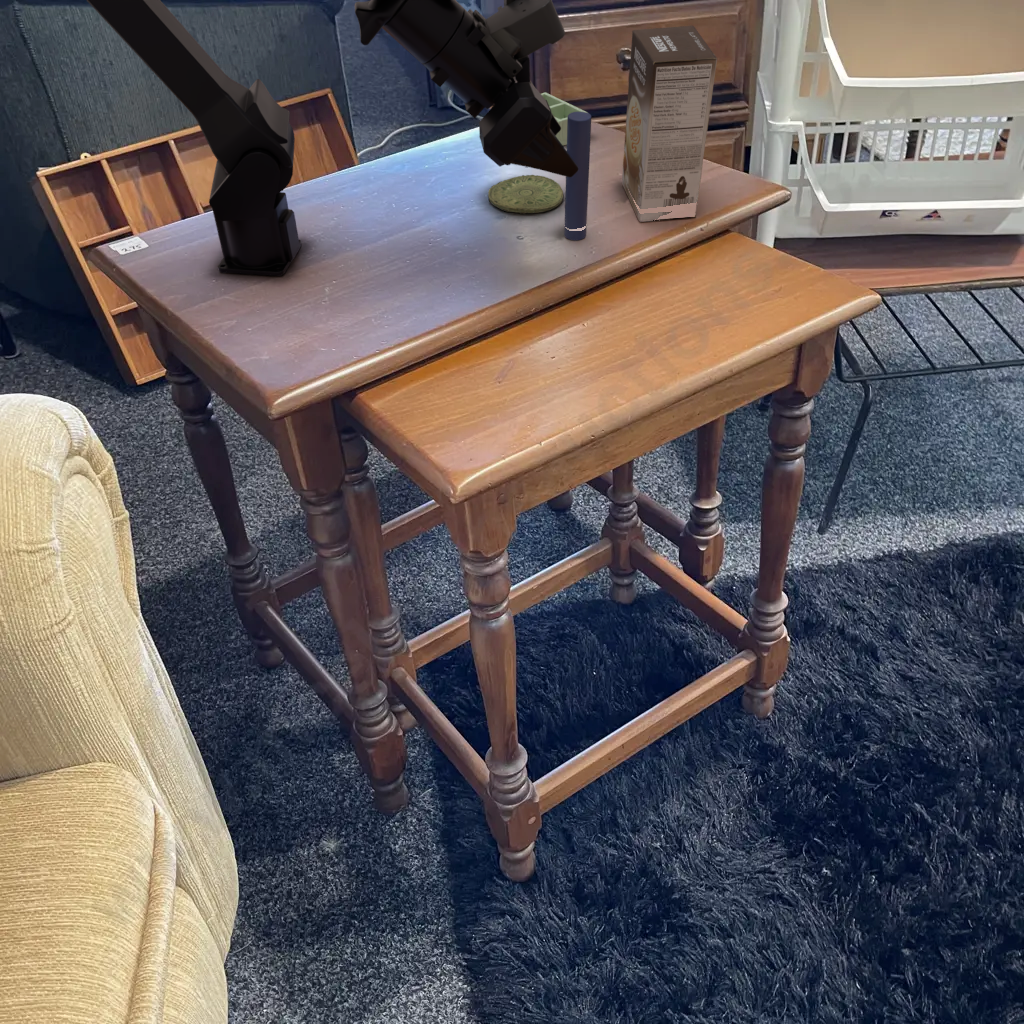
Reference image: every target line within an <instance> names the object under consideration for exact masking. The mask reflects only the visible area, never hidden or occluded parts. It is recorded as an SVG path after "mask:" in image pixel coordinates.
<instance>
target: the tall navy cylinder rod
mask: <svg viewBox="0 0 1024 1024" xmlns="http://www.w3.org/2000/svg"><path fill="white" fill-rule="evenodd" d="M586 112H587V111H585V112H573V113H570V114H569V115H568V121H567V145H566V151H567V152H568V154H569V155H570V156H571V158H572V159H573V161H574V162H575V163H576V165H577V166H578V171H577V172H576V173H575V174H574V175H573V176H572V177H566V176H565V189H564V191H565V193H564V225H565V226H564V225H563V226H564V227H563V229H564V231H563V236H564V237H565V238H566V239H567V240H570V241H581V240H584V239H585V238H586V236H587V226H586V224H587V223H588V222H587V221H588V202H589V201H588V200H589V177H590V160H591V159H590V157H591V138H592V137H591V136H592V135H591V134H592V133H591V132H592V115H591V113H589V112H588V113H586ZM587 225H588V224H587ZM584 226H586V228H585V229H584V230H582V231H569V230H567V229H566V228H565V227H567V228H569V229H577V228H582V227H584Z"/></svg>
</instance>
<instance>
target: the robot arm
mask: <svg viewBox="0 0 1024 1024" xmlns="http://www.w3.org/2000/svg"><path fill="white" fill-rule="evenodd" d="M86 2H87V3H88V4H89V5H90V7H92V8H93V9H94V10H95V11H96V13H97V14H99V16H100V17H101V18H102V19H103V20H104V21H105V22H106V23H107V24H108V25H109V26H110V27H111V28H112V30H113V31H114V32H115V33H116V34H117V35H118V36H119V37H120V38H121V39H122V40H123V41H124V42H125V44H126V45H127V46H128V47H129V48H130V49H131V50H132V51H133V52H134V53H135V54H136V55H137V57H139V58H140V60H141V61H142V62H143V63H144V64H145V65H146V66H147V67H148V68H149V69H150V70H151V71H152V72H153V73H154V75H155V76H156V77H157V78H158V79H159V80H160V81H161V83H163V84H164V86H166V88H167V89H168V90H170V92H171V93H172V94H173V95H174V96H175V97H176V98H177V99H178V101H179V102H180V103H181V104H183V106H184V107H185V108H186V109H187V110H188V111H189V112H190V113H191V114H192V116H193V117H194V119H195V121H196V122H197V124H198V126H199V128H200V130H201V132H202V134H203V136H204V138H205V140H206V142H207V144H208V146H209V149H210V150H211V153H212V154H213V155H214V157H215V158H216V163H215V168H214V173H213V179H212V183H211V184H212V185H211V189H210V195H209V198H208V199H209V200H208V204H209V206H210V207H211V210H212V213H213V218H214V223H215V226H216V231H217V235H218V240H219V244H220V248H221V252H222V256H223V258H222V259H221V261H220V262H219V263H218V265H217V269H218V272H220V273H227V274H241V275H242V274H243V275H244V274H245V275H254V276H255V275H257V276H258V275H259V276H271V277H280V276H284V274H285V273H286V272H287V270H288V268H289V266H290V265H291V263H292V262H293V261H294V259H295V258H296V256H297V254H298V253H299V251H300V249H301V246H302V240H301V239H300V238H299V232H298V227H297V226H298V225H297V220H296V215H295V211H294V210H293V209H292V208H289V205H288V200H287V193H286V192H284V190H285V189H286V188H287V187H288V185H289V184H290V183H291V180H292V178H293V174H294V173H293V172H294V160H295V159H294V157H295V141H296V138H295V132H294V129H293V126H292V124H291V123H290V115H291V114H290V113H291V112H290V111H289V110H288V109H286V108H285V107H283V106H281V105H280V104H279V103H278V102H277V101H276V100H275V99H274V97H273V96H272V94H271V92H269V90H268V89H267V87H266V85H265V83H263V81H262V80H261V79H260V78H257V79H255V81H254V82H253V83H252V84H251V86H250V87H249V88H248V87H246V86H244V85H242V84H241V83H239V82H237V81H235V80H234V79H232V78H231V77H229V75H227V74H226V73H225V71H223V69H221V67H220V66H219V65H218V64H217V63H216V62H215V61H214V60H213V58H212V57H211V56H210V55H209V54H208V52H207V51H206V50H205V49H204V48H203V47H202V45H201V44H199V43H198V41H197V40H196V39H195V38H194V37H193V35H192V34H191V33H190V32H189V31H188V30H187V29H186V27H185V26H184V25H183V24H182V23H181V22H180V21H179V19H178V18H177V17H176V16H175V15H174V14H173V12H172V11H171V10H170V9H169V8H168V7H167V6H166V4H165V3H164V2H162V0H86ZM354 14H355V16H356V18H357V21H358V25H359V36H360V37H359V39H360V43H361V45H363V46H369V44H370V43H371V42H372V41H373V39H374V38H375V37H376V36H377V34H378V33H379V32H380V31H381V30H382V29H383V30H384V31H385V32H386V33H387V34H388V35H389V36H390V37H391V38H393V39H394V40H395V41H396V42H397V43H398V45H400V46H402V48H404V49H405V50H406V51H407V52H408V53H409V54H410V55H411V56H413V57H414V58H415V59H416V60H417V61H418V62H419V63H420V64H421V65H422V66H423V67H425V68H426V69H427V70H428V71H429V76H430V79H431V81H432V82H434V83H435V84H436V86H438V87H439V88H441V87H442V86H443V85H445V86H446V87H447V88H448V89H449V90H450V91H451V92H453V94H454V95H456V96H457V97H458V98H459V99H460V100H461V101H462V102H463V103H464V107H465V111H466V112H467V113H468V114H469V115H470V116H471V117H472V118H473V119H476V118H477V117H478V116H479V115H480V114H481V113H482V111H483V110H484V109H485V110H489V111H488V112H487V113H486V114H485V115H484V116H483V117H482V118H481V119H480V121H479V122H478V132H479V140H480V144H481V147H482V151H483V154H484V155H485V156H487V157H488V158H489V159H490V160H491V161H492V162H494V163H495V164H496V165H497V166H498V167H502V166H510V165H516V166H521V167H527V168H531V169H535V170H539V171H544V172H546V173H547V172H548V173H551V174H555V175H558V176H563V177H565V178H566V177H572V176H573V175H574V174H575V173H576V172H577V171H578V166H577V165H576V163H575V162H574V161H573V159H572V158H571V156H570V155H569V154H568V152H567V149H566V148H565V146H563V145H562V144H561V143H560V141H559V140H558V139H557V137H556V135H557V134H558V132H559V131H560V130H561V126H560V125H559V123H558V122H557V120H556V119H555V117H554V116H553V114H552V112H551V109H550V107H549V104H548V102H547V100H545V99H544V98H543V96H542V95H541V93H540V91H539V90H538V89H537V88H536V87H535V85H534V84H533V82H532V80H531V68H530V66H531V65H530V63H531V61H530V57H529V55H531V54H533V53H535V52H536V51H538V50H540V49H542V48H544V47H546V46H548V45H549V44H550V45H553V44H556V43H557V42H559V41H561V40H562V39H563V38H564V37H565V35H566V31H565V28H564V25H563V23H562V21H561V18H560V16H559V15H558V12H557V9H556V7H555V4H554V2H553V0H503V5H500V6H498V7H497V12H495V13H493V14H492V15H490V16H489V17H487V18H485V16H483V15H482V14H481V13H480V12H479V11H478V10H477V9H474V10H472V8H469V9H468V10H467V9H466V8H465V7H463V5H461V3H459V2H458V1H457V0H366V1H355V3H354Z"/></svg>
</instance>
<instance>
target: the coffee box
mask: <svg viewBox="0 0 1024 1024" xmlns="http://www.w3.org/2000/svg"><path fill="white" fill-rule="evenodd" d="M631 32H632V33H631V35H632V36H631V47H630V59H629V60H630V61H629V73H628V75H629V77H628V86H627V87H628V88H627V105H626V114H625V115H626V117H625V130H624V144H623V159H622V175H621V184H622V187H623V189H624V192H625V194H626V196H627V198H628V201H629V203H630V204H631V207H632V209H633V211H634V213H635V216H636V218H637V220H638V221H639V223H645V222H656V221H655V219H656V220H657V219H658V218H659V217H660V216H663V215H667V214H669V213H671V212H672V211H671V212H658V213H644V214H640V213H639V211H638V209H637V207H636V205H635V203H634V201H633V199H632V197H633V198H634V200H635V202H636V204H637V205H638V206H639V208H640V209H648V208H657V207H666V206H673V205H680V204H687V203H688V204H690V203H696V202H698V203H699V195H700V188H701V181H702V180H701V179H702V174H703V173H702V171H703V164H704V158H705V157H704V156H705V149H706V144H707V135H708V129H709V121H710V114H711V106H712V99H713V91H714V84H715V76H716V70H717V63H718V57H717V56H716V55H715V53H714V51H713V50H712V49H711V48H710V47H709V45H708V44H707V42H706V41H705V39H704V38H703V37H702V35H701V34H700V33H699V31H698V29H697V27H696V26H694V25H684V26H683V25H682V26H671V27H670V26H669V27H653V28H641V29H634V30H632V31H631ZM628 189H629V190H628ZM629 191H630V193H631V195H632V197H631V195H630V193H629ZM653 220H654V221H653Z"/></svg>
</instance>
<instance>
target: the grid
mask: <svg viewBox="0 0 1024 1024" xmlns="http://www.w3.org/2000/svg"><path fill="white" fill-rule="evenodd" d="M540 94H541V95H542V96H543V98H544V99H545V100H547V102H548V104H549V107H550V109H551V112H552V114H553V116H554V117H555V119H556V120H557V122H558V123H559V125H560V126H561V130H560V131H559V132H558V134H557V135H556V137H557V139H558V140H559V141H560V143H561V144H562V145H563V147H565V146H567V121H568V115H569V114H570V113H573V112H586V113H589V112H588V111H585V110H583V109H581V108H580V107H577V106H575V105H573V104H571V103H568V102H566V101H565V100H562V99H560V98H558V97H556V96H554V95H552V94H549V92H546V91H545V92H543V93H540Z"/></svg>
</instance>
